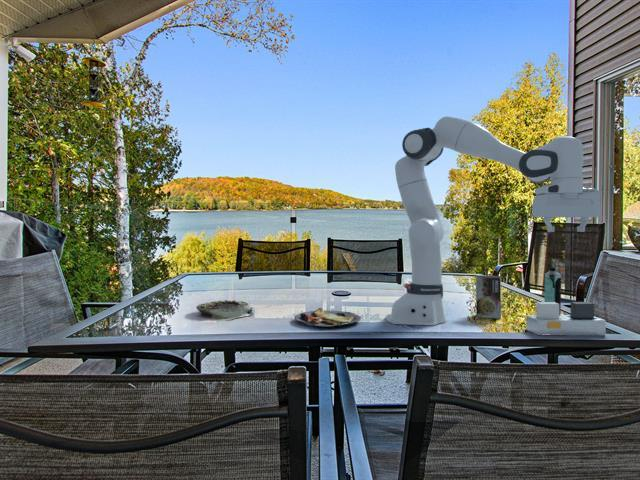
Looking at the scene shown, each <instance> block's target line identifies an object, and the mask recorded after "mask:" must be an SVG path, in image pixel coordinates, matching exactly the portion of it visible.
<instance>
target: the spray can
mask: <svg viewBox="0 0 640 480" xmlns="http://www.w3.org/2000/svg"><path fill="white" fill-rule="evenodd" d="M549 269H550V270H548V271H547V272H546V273H544V274H545V275H544V302H555V303H558V304H559V315H562V313H561V312H562V311H561V310H562V274H561V273H559V272H558V271H557V269H556V267H550V268H549Z"/></svg>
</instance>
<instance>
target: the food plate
mask: <svg viewBox="0 0 640 480" xmlns="http://www.w3.org/2000/svg"><path fill="white" fill-rule="evenodd" d="M293 318H294V320H295V321H298V322H302V323H303V324H305V325H307V326H308V327H317V326H318V327H319V328H335V327H334V326H339V327H342V325H343V326H346V324H342V323H348V324H347V325H349V324H350V325H351V324H353V323H358V322H361V320H362V316H360V315H358V314H357V313H355V312H349V311H341V310H324V309H323V308H322V307H319V308H317V309H316V310H311V311H310V310H309V311H304V312H300V313H298V314H296V315H295V316H293Z"/></svg>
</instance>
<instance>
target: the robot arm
mask: <svg viewBox="0 0 640 480" xmlns="http://www.w3.org/2000/svg"><path fill="white" fill-rule="evenodd" d="M401 142H402V143H401V146H402V150H403V152H404V154H405V156H403V157H401V158H399V159H398V160H397V161H396V163H395V166H394V169H395V170H394V171H395V178H396V183H397V188H398V191H399V194H400V198H401V201H402V206H403V208H404V210H405V212H406V214H407V217H408V219H409V221H410V224H411V225H410V226H409V228H408V239H409V240H408V242H409V251H410V258H411V282H410V283H407V282H405V283H404V284H403V287H404V289H406V293H404V294H403V295H401V296H400V297H399V298H398V299H396V300H395V301H394V302H393V304H392V307H391V313H388V314H386V315H385V320H386V321H387V322H388V323H390V324H394V325H409V326H410V325H413V326H437V325H438V324H443V323H446V321H447V319H446V317H445V312H444V305H443V296H444V285H443V283H442V282H443V281H442V278H443V277H442V274H443V273H442V272H443V271H442V268H443V267H442V266H443V265H442V264H443V263H442V257H441V241H442V240H443V238H444V233H445V232H444V227H443V224H442V221H441V218H440V216H439V213H438V210H437V208H436V204H435V203H434V200H433V196H432V193H431V189H430V186H429V183H428V180H427V176H426V172H425V167H428V166H430V164H432V163H433V162H434V161H436V160H437V159H439V157H440V156H442V154H443V152H444V149H445V148H446V149H449V150H452V151H454V152H457V153H459V154H462V155H466V156H469V157H475V158H479V159H485V160H486V159H487V160H492V161H494V162H498V163H500V164H503V165H505V166H508V167H510V168H512V169H514V170H517V171H518V172H520V173H521V174H522V175H523V176H524V177H525V178H526V179H527V180H528V181H529V182H531V183H534V184H542V183H546V182H548V181H550V183H548V184H545V185H543V186H540V187H536V188H534V194H535V196H534V197H533V200H532V205H531V206H532V207H531V214H532V217H533V218H543V222H544V224H545V225H546V227H547V228H546V229H547V233H554V232H555V231H556V230H555V228H556V227H555V226H554V225H552V223H551V222H552V219H553V218H580V221H581V223H580V224H579V226H578V225H577V226H576V232H577V233H580V232H581V233H584V232H586V230H585V229H586V226H587V225H588V223H589V221H590V220H589V219H590V218H599V217H600V216H601V214H602V208H601V200H600V199H601V192H600V191H599V190H598V189H596V188H595V187H591V188H587V187H584V176H583V171H582V170H583V166H584V148H583V144H582V143H583V142H582V141H581V140H580V139H578V138H577V137H573V136H563V135H562V136H557V137H555V138H553V139H551V140H550V141H549V142H548V143H546V144H544V145H542V146H540V147H537V148H534V149H531V150H527V151H525V152H524V151H523V150H519V149H517V148H514V147H512V146H509V145H507V144H505V143H504V142H501V140H499V139H498V138H497V137H496V136H494V135H493V134H492V133H491V132H490V131H489V130H487V129H486V128H484V127H483V126H481V125H479V124H477V123H474V122H472V121H469V120H466V119H463V118H458V117H452V116H443V117H441V118H440V119H439V120H438V121H436V123H435V125H434V127H433V128H431V127H425V128H424V127H423V128H419V129H413V130H411V131H409V132H407V133H406V134H405V135H404V136H403V138H402V141H401Z"/></svg>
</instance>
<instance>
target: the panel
mask: <svg viewBox="0 0 640 480" xmlns="http://www.w3.org/2000/svg"><path fill="white" fill-rule="evenodd" d="M535 315H536V318H538V319H559V304H558V303H555V302H545V301H537V302H536V313H535Z"/></svg>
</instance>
